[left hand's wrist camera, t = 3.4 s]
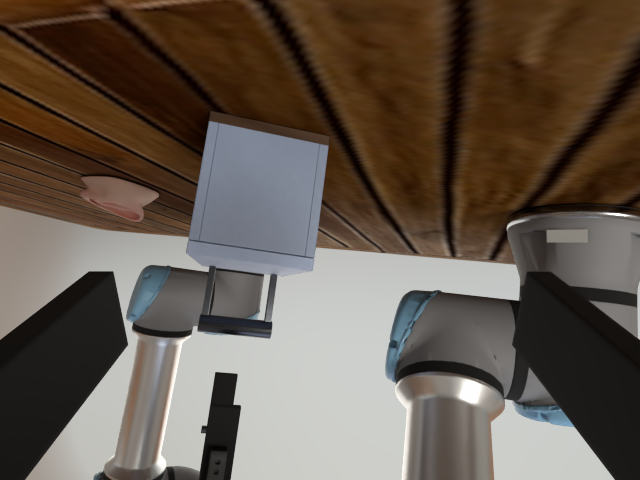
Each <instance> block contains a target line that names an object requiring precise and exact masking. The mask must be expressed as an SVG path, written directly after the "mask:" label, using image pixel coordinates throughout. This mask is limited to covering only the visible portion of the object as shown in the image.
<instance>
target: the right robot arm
mask: <svg viewBox="0 0 640 480" xmlns="http://www.w3.org/2000/svg"><path fill="white" fill-rule="evenodd" d="M208 273H209V272H203V271H196V270H189V269H182V268H175V267H171V266H156V265H150V266H147V267H145V268H144V269H143V270H142V272H141V274H140V275H139V278H138V280H137V282H136V285H135V287H134V290H133V293H132V296H131V299H130V303H129V307H128V310H127V315H126V318H127V320H128V321H130V322H133V326H132V331H133V332H134V334H135V335H136V336H137V337H138V343H137V347H136V352H135V358H134V363H133V368H132V373H131V378H130V383H129V388H128V393H127V398H126V403H125V408H124V413H123V418H122V423H121V428H120V433H119V438H118V443H117V448H116V453H115V455H114V456H112V457H111V458H110V459H109V460H108V461H107V462H106V464H105V466H104V471H103V472H99V473H97V474H95V475H94V480H230V479H231V472H232V465H233V459H234V452H235V445H236V438H237V431H238V424H239V417H240V410H241V406H240V405H233V403H234V396H235V389H236V382H237V374H233V373H219V372H216V373H215V379H214V385H213V391H212V398H211V404H210V411H209V417H208V424H207V426H202V430H201V433H206V437H205V443H204V450H203V456H202V462H201V469H200V472H199V471H197V470H194V469H191V468H187V467H181V466H174V467H166V461H165V459H164V458H163V457H162V456H161V449H162V444H163V439H164V434H165V429H166V424H167V419H168V414H169V408H170V403H171V398H172V393H173V388H174V383H175V378H176V372H177V367H178V362H179V357H180V352H181V347H182V343H183V342H184V341H185V340H186V339H188V338H189V337H190V336H191V334H192V329H193V326H198V323H199V317H200V314H202V309H203V303H204V297H205V291H206V285H207V279H208ZM263 279H264V274H259V273H252V272H244V271H237V270H230V269H222V268H216V272H215V278H214V285H213V291H212V297H211V303H210V309H209V315H217V316H226V317H235V318H244V319H254V320H257V319H258V314H259V312H260V301H261V294H262V287H263ZM203 333H205V334H211V335H226V334H216V333H206V332H203Z"/></svg>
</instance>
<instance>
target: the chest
mask: <svg viewBox="0 0 640 480" xmlns="http://www.w3.org/2000/svg"><path fill="white" fill-rule="evenodd" d="M329 140H330V136H326V135H321V134H317V133H312V132H307V131H303V130H298V129H293V128H289V127H284V126H279V125H275V124H270V123H265V122H261V121H256V120H251V119H246V118H242V117H237V116H232V115H228V114H223V113H218V112H214V111H210V116H209V124H208V129H207V135H206V141H205V147H204V152H203V158H202V164H201V170H200V175H199V181H198V187H197V193H196V198H195V204H194V210H193V215H192V221H191V227H190V233H189V240H191V241H198V242H205V243H211V244H218V245H225V246H232V247H239V248H246V249H253V250H260V251H266V252H273V253H280V254H287V255H294V256H301V257H308V258H314V257H315V249H316V241H317V233H318V225H319V217H320V209H321V201H322V193H323V185H324V177H325V169H326V161H327V153H328V146H329Z"/></svg>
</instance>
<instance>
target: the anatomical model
mask: <svg viewBox="0 0 640 480" xmlns="http://www.w3.org/2000/svg"><path fill="white" fill-rule="evenodd" d="M81 180H82V181H83V182H84V183H85V185H86V186H87V189H85V190H82V191H81V192H80V196H81V197H82V198H84V199H86V200H87V201H89V202H91V203H92V204H94V205H96V206H98V207H100V208H102V209H104V210H107V211H109V212H111V213H113V214H116V215H118V216H120V217H123V218H125V219H128V220H131V221H136V222H137V221H141V220H142V219H143V217H144V210H143V208H142V207H143V206H145V205H147V204H149V203H150V202H152V201H153V200H155V199H156V198H158V197H159V194H158V193H157V192H156V191H154V190H151V189H149V188H146V187H144V186H141V185H138V184H135V183H132V182H129V181H126V180H122V179H118V178H114V177H106V176H87V177H81Z"/></svg>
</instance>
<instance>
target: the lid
mask: <svg viewBox="0 0 640 480" xmlns="http://www.w3.org/2000/svg"><path fill="white" fill-rule="evenodd" d="M186 253H187V254H188V255H189V256H191V257H192V258H193V259H194V260H196V261H197V262H198V263H199V264H201V265H202V266H207V267H209V273H208V279H207V285H206V291H205V297H204V303H203V309H202V314H200V317H199V323H198V332H206V333H216V334H226V335H236V336H247V337H257V338H266V339H270V337H271V332H272V321H271V318H272V311H273V304H274V296H275V289H276V282H277V276H287V275H292V274H298V273H303V272H308V271H312V270H313V264H314V258H308V257H301V256H294V255H287V254H280V253H273V252H266V251H260V250H253V249H246V248H239V247H232V246H225V245H218V244H211V243H205V242H198V241H191V240H189V241H188V244H187V250H186ZM216 268H222V269H230V270H237V271H244V272H252V273H259V274H267V275H271V277H270V284H269V291H268V298H267V305H266V312H265V319H264V321H263V320H254V319H244V318H235V317H226V316H217V315H209V309H210V303H211V297H212V291H213V285H214V278H215V272H216Z"/></svg>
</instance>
